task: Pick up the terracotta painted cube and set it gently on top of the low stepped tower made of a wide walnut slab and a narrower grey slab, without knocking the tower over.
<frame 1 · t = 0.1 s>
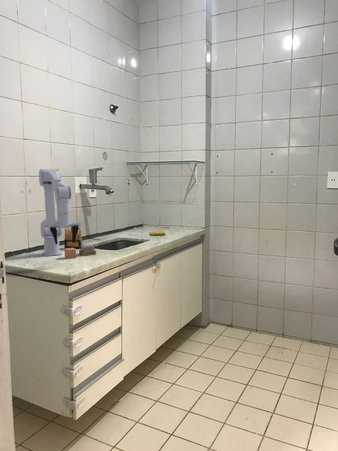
hand: (65, 243, 171), 10 cm above the worktop, tool pointing down, fingers open, 7 cm apart
ammunition clip: (73, 248, 213), on the worktop
terracotta cube: (70, 257, 188), on the worktop
grey slab: (87, 250, 196), point 2 cm above the worktop, touching walnut slab
walnut slab: (87, 255, 196), on the worktop, touching grey slab
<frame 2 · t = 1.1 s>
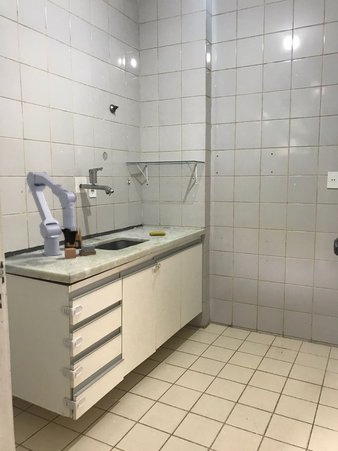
hand: (69, 243, 187), 7 cm above the worktop, tool pointing down, fingers open, 7 cm apart
nothing on the worktop moved.
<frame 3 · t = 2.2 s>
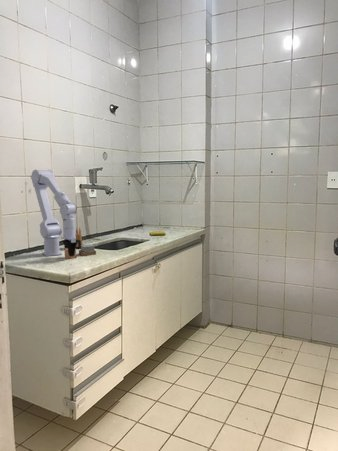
hand: (70, 254, 188), 1 cm above the worktop, tool pointing down, fingers closed on terracotta cube, 4 cm apart
terracotta cube: (70, 257, 188), on the worktop, touching gripper
everything else where it was.
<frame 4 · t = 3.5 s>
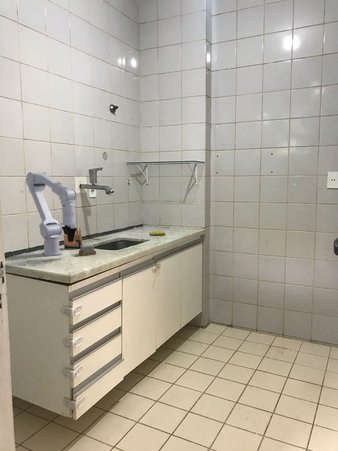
hand: (69, 241, 187), 8 cm above the worktop, tool pointing down, fingers closed on terracotta cube, 4 cm apart
terracotta cube: (69, 244, 187), point 7 cm above the worktop, touching gripper
everything else where it was.
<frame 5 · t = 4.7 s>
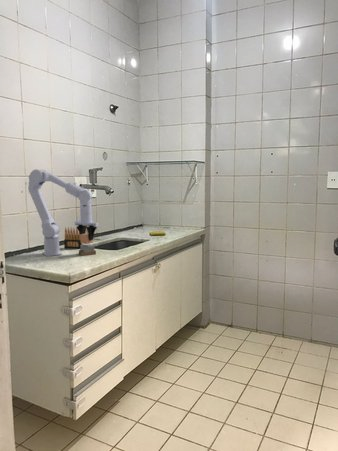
hand: (87, 239, 195), 8 cm above the worktop, tool pointing down, fingers closed on terracotta cube, 4 cm apart
terracotta cube: (86, 242, 195), point 6 cm above the worktop, touching gripper
everything else where it was.
when the fingers open (7 cm above the worktop, at t = 5.2 s): terracotta cube drops 2 cm, resting on grey slab.
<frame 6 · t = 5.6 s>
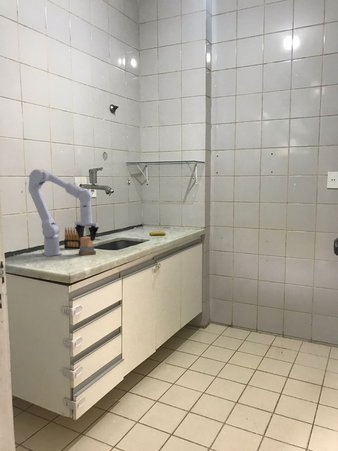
hand: (87, 240, 195), 7 cm above the worktop, tool pointing down, fingers open, 7 cm apart
terracotta cube: (86, 245, 196), point 4 cm above the worktop, touching grey slab
grey slab: (87, 250, 196), point 2 cm above the worktop, touching terracotta cube, walnut slab
everything else where it was.
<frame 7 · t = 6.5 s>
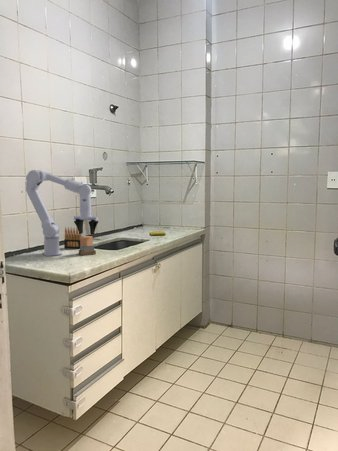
hand: (86, 234, 196), 10 cm above the worktop, tool pointing down, fingers open, 7 cm apart
terracotta cube: (86, 245, 196), point 5 cm above the worktop
grey slab: (87, 250, 197), point 2 cm above the worktop, touching walnut slab
everything else where it was.
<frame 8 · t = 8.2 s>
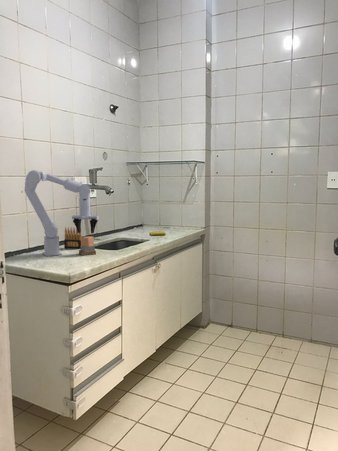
hand: (85, 232, 200), 10 cm above the worktop, tool pointing down, fingers open, 7 cm apart
nothing on the worktop moved.
at the end: terracotta cube 0.2 cm off-centre on the grey slab, point 2.5 cm above the grey slab's base; grey slab 0.3 cm off-centre on the walnut slab, point 2.5 cm above the walnut slab's base; the gripper is holding nothing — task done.
